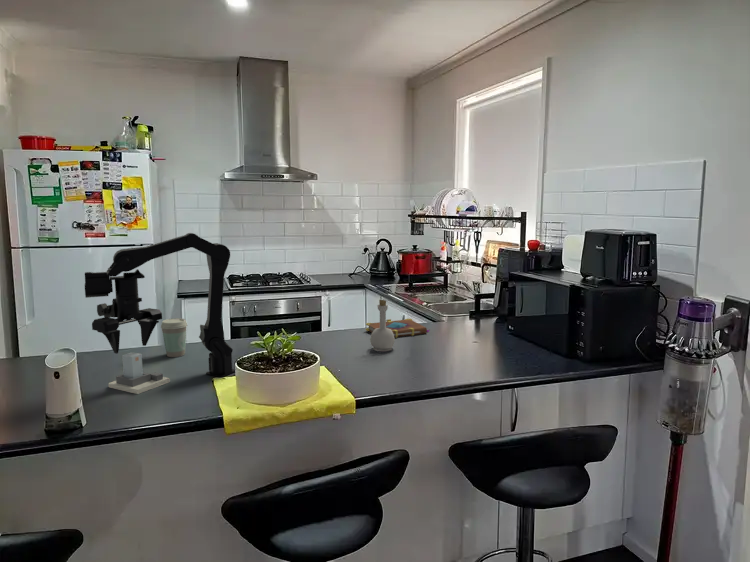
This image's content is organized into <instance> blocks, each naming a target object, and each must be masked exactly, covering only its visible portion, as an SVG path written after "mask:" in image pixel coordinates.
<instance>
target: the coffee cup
mask: <svg viewBox="0 0 750 562" xmlns="http://www.w3.org/2000/svg"><path fill="white" fill-rule="evenodd" d="M187 327H188V322H187V320H186V319H185V318H180V317H179V318H167V319H164V320H162V322H161V324H160V328H161V332H162V337H163V343H164V347H165V352H166V353H165V354H166V356H167V357H169V358H179V357H182V356H184V355H185V354H186V344H187V343H186V341H187V340H186V339H187Z"/></svg>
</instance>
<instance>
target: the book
mask: <svg viewBox="0 0 750 562" xmlns="http://www.w3.org/2000/svg"><path fill="white" fill-rule="evenodd" d="M365 325H366V326H368V327H367V328H365V331H368V332H369V333H371V334H372V332H373V331H374V330H375V329H377V328H380V321H379V322H366V323H365ZM386 328H388V329H391V330H392V332H393V334H394V339H395V338H396V339H397V338H399V337H400V338H401V337H408V336H412V337H413V336H414V337H415V336H417V335H424V334H425V335H426V334H427V333H430V329H428V328H427V327H426V326H424V325H422V324H420V323H419V322H416V321H414V320H413V319H412V318H405V319H399V320H398V319H397V320H392V319H391V318H390V319H386Z"/></svg>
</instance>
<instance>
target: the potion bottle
mask: <svg viewBox="0 0 750 562" xmlns="http://www.w3.org/2000/svg"><path fill="white" fill-rule="evenodd" d="M378 301H379V302H378V303H379V304H377V305H376V306H377V310H378V311H379V322H380V328H377V329H375V330H374V331H373V332H372V333H371V334H370V339H369V341H370V345H371V347H373V348H372V349H373V350H374V351H375V352H376V351H377V352H381V353H382V352H390V351H392V350H393V347H394V345H395V340H396V339H395V337H394V334H393V332H392V330H391V329H388V328H386V322H387V321H386V320H387V319H386V318H387V317H386V316H387V311H388V309H389V305H388V304H387V300H385V299H379V300H378Z"/></svg>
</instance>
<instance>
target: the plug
mask: <svg viewBox="0 0 750 562" xmlns="http://www.w3.org/2000/svg"><path fill="white" fill-rule="evenodd" d="M121 356H122V357H121V359H122V369H123V370H122V372H123V373H122V374H124V377H127V378H132V379H134V378H137V377H140V376H143V372H144V371H143V355H142V353H138V352H128V353H124V354H122V355H121Z"/></svg>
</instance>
